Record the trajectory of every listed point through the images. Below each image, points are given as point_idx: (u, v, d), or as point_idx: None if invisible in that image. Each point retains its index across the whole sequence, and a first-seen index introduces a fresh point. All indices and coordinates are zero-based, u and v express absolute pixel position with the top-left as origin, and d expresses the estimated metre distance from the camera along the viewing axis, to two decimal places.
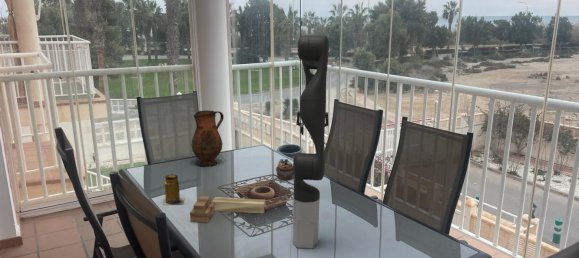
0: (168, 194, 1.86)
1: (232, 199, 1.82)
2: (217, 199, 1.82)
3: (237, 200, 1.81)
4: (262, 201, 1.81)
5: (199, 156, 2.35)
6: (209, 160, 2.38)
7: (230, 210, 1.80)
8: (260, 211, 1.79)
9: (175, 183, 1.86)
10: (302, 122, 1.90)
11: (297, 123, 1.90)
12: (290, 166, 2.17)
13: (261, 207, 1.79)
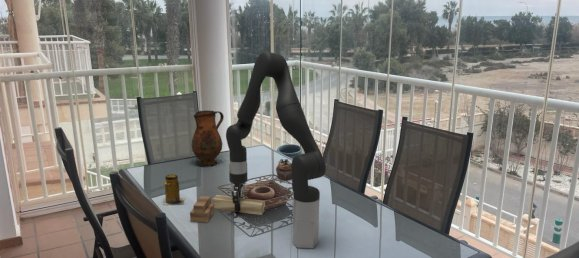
0: (168, 194, 1.86)
1: None
2: (218, 197, 1.83)
3: None
4: (261, 202, 1.79)
5: (199, 156, 2.35)
6: (209, 160, 2.38)
7: (229, 209, 1.81)
8: (258, 212, 1.78)
9: (175, 183, 1.86)
10: (239, 198, 1.78)
11: (238, 201, 1.76)
12: (290, 166, 2.17)
13: (259, 208, 1.77)
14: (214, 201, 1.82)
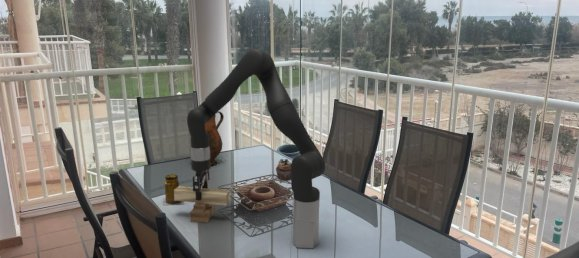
0: (168, 194, 1.86)
1: None
2: (180, 188, 1.74)
3: None
4: (225, 192, 1.70)
5: None
6: None
7: (192, 200, 1.71)
8: (222, 202, 1.69)
9: (175, 183, 1.86)
10: (201, 186, 1.67)
11: (199, 189, 1.65)
12: (290, 166, 2.17)
13: (224, 198, 1.68)
14: (176, 192, 1.72)
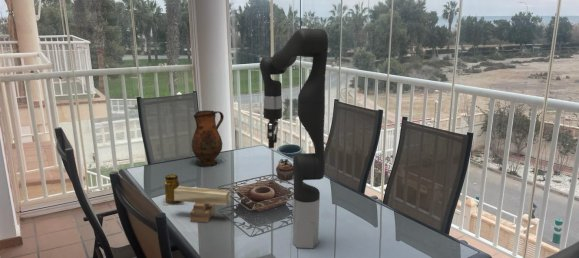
0: (168, 194, 1.86)
1: (195, 189, 1.73)
2: (180, 188, 1.74)
3: (200, 190, 1.72)
4: (225, 192, 1.70)
5: (199, 156, 2.35)
6: (209, 160, 2.38)
7: (192, 200, 1.71)
8: (222, 202, 1.69)
9: (175, 183, 1.86)
10: (274, 134, 1.72)
11: (273, 136, 1.70)
12: (290, 166, 2.17)
13: (224, 198, 1.68)
14: (176, 192, 1.72)
